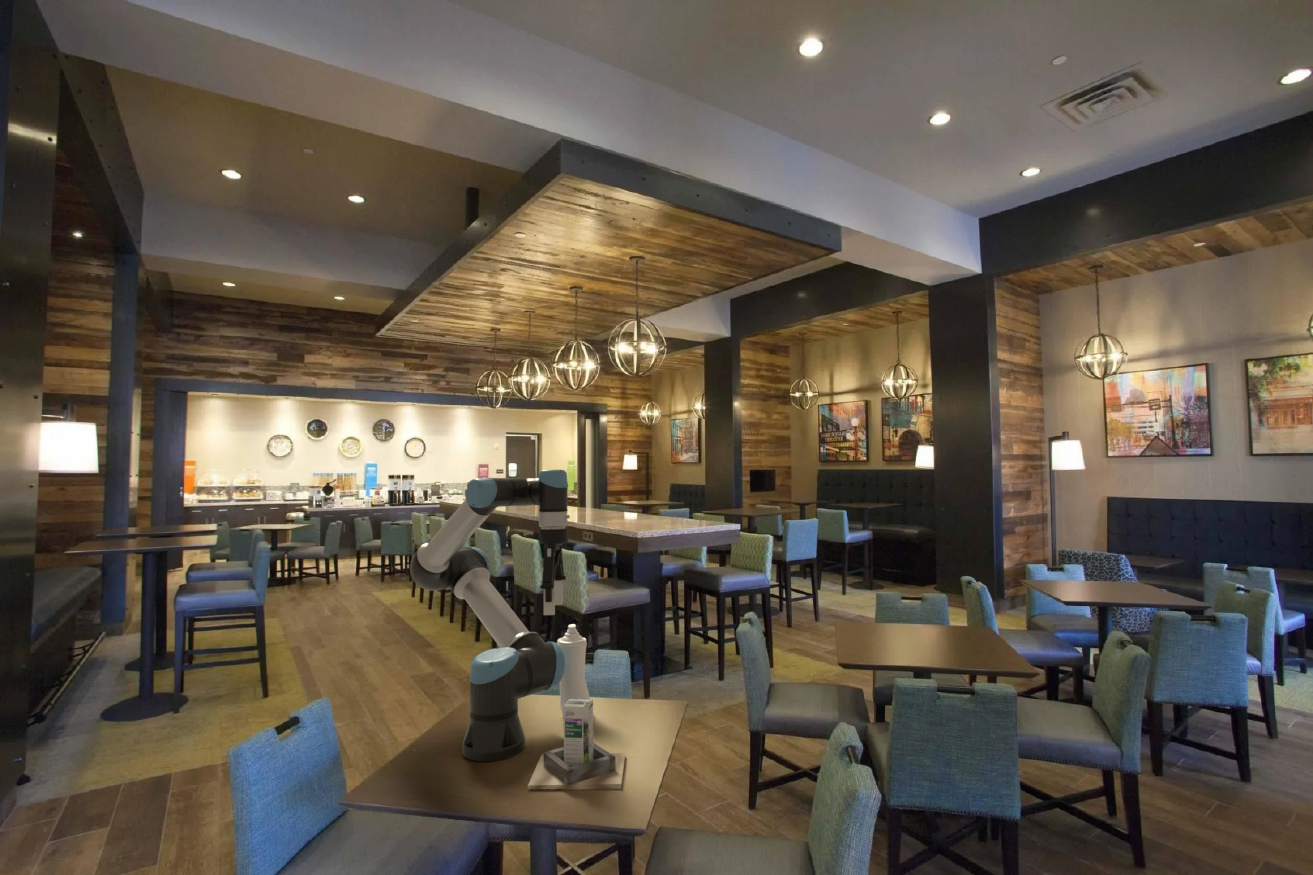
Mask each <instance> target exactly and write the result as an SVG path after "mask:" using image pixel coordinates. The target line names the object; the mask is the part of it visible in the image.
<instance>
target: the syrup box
mask: <svg viewBox="0 0 1313 875" xmlns="http://www.w3.org/2000/svg"><path fill="white" fill-rule="evenodd" d="M593 714H594V699H592V698H590V700H583V699H570V700H568V701H567V702H566V704H565V705H564V719H563V747H564V762H565V763H566V764H568V765H569V766H570V767H571V766H574V765H578V764H581V763H585V762H588V761H592V760H593V742H594V718H593Z"/></svg>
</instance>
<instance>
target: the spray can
mask: <svg viewBox="0 0 1313 875" xmlns="http://www.w3.org/2000/svg"><path fill="white" fill-rule="evenodd" d="M576 628H577V626H576V624H575V623H572V624H568V626H567V630H566V632H565V633H564V636H562V637H560V638H558V639H557V641H556V643H557V644H558V645H559V646H560V647H561V649H562V651H563V654H564V658H565V671H564V675H563V677H562V679H561V681H560V682H559V701H560V703H559V704H560V710H561V714H562V719H563V720H564V705H565V704H566V702H567V701H568V700H570V699H583V700H590V699H591V698H590V693H589V689H588V684H587V681H586V676H585V675H586V674H585V673H586V671H585V670H586V652H587V645H588V642H587V638H585V637H582V636H583V635H580V633H579V632H578V630H577V629H576ZM594 718H595V714H594V713H593V719H594Z"/></svg>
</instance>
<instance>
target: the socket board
mask: <svg viewBox="0 0 1313 875" xmlns="http://www.w3.org/2000/svg"><path fill="white" fill-rule="evenodd" d="M625 762H626V753H625V752H616V753H615V752H612V753H611V752H609V751H607V750H606V749H604V748H603V747H602V746H600V745H598V744H596V743H595V742H594V741H593V760H592V761H588V762H585V763H581V764H578V765H574V766H571V767H570V766H569V765H568V764H566V763H565V762H564V746H563V747H559V748H554V749H552V750H548V751H545V752H543V753H542V754H541V755H540V758H539V759H538V761H537V764H536V767H535V768H534V771H533V773H532V775H531V778H530V780H529V781H528V784H527V790H528V789H529V790H528V791H531V790H530V789H534V790H533V791H536V790H535V789H562V790H561V791H566V790H567V791H571V790H574V791H575V790H620V789H621V790H622V785H623V780H624V778H623V777H624V770H625Z"/></svg>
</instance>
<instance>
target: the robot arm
mask: <svg viewBox="0 0 1313 875" xmlns="http://www.w3.org/2000/svg"><path fill="white" fill-rule="evenodd" d="M567 473H568V472H566V470H564V469H541V470H540V471H539V473H538V477H486V476H485V477H479V478H473V479H471V480H469V481H468V483H467V484H466V488H465V490H464V497H465V500H463V502H462V503H461V504H460V505H459V507H458V508H457V509H456V510H455V511H454V512H453V513H452V515H451V516H450V517H449V518H448V519H447V520H446V521H445V523H444V524H443V525H442V527H441V528H440V529H438V531H437V532H436V533H435V534H434V535H433V537H431V539H430V541H428V542H425V543H423V544H422V545H421V546H419V548H418V549H417V551H415V552H414V554H413V556H412V558H411V561H410V565H409V571H410V576H411V578H412V580H413V581H414V583H415V584H416V585H417V586H419V588H422V589H424V590H426V591H430V592H431V591H432V592H435V591H442V590H451V592H452V593H453V594H454V595H455V597H456V598H458V599H460V600H465V601H466V603H467V604H468V605H469V607H470V608H471V610H472V611H473V613H474V614H475V616H476V617H477V618H478V619H479V621H480V622H481V623H482V625H483V626H484V628H485V629H486V630H487V632H488V634H489V635H490V636H491V637H492V638H493V640H494V641H495V643H496V644H497V646H498V648H491V649H487V650H485V651H482V652H480V653H479V654H477V655H476V656H474V658H473V659H472V661H471V663H470V670H469V671H470V672H469V678H468V679H469V681H470V682H469V721H468V724H467V727H466V731H465V734H464V737H463V741H462V746H461V747H462V750H461V754H462V756H463V757H464V758H466V759H468V760H471V761H476V762H495V761H500V760H505V759H509V758H512V757H514V756H517V755H519V753H521V752H522V751H524V749H525V748H526V737H525V731H524V729H523V726H522V723H521V720H520V716H519V699H522V698H525V697H527V696H531V695H534V694H537V693H540V692H543V691H547V690H549V689H550V688H551V689H552V688H553V687H555V686H557V685H558V684H560V681H561V679H562V677H563V675H564V671H565V658H564V654H563V651H562V649H561V647H560V646H559V645H558V644H557V642H555V641H547V642H545V641H544V639H543V638H542V637H541V636H540V634H539V633H538V632H536V631H530V630H528V628H527V626H525V624H524V623H523V622H522V620H521V619H520V618H519V617H518V616H517V614H516V613H515V611H514V610H513V609H512V608H511V606H510V605H509V603H508V602H507V601H506V599H504V597H503V596H502V594H500V592H499V591H498V590H497V589H496V587H495V586H494V585H493V583H492V582H491V581H490V580H491V579H490V578H491V564H490V563H489V562H490V559H489V557H488V556H487V554H486V553H485V551H483V550H482V549H481V548H478V547H474V546H471V547H470V546H463V545H465V543H466V542H467V541H468V540H469V539H470V538H471V536H473V535H474V533H475V532H476V531H477V530H478V529H479V528H480V527H481V525H483V523H484V522H485V521H486V520H487V519H488V518H489V516H490V515H491V514H492V513H493V512H494V511H495V510H496V509H497V508H498V507H499V508H500V507H501V508H502V507H517V506H519V507H520V506H523V507H525V506H538V527H539V528H540V529H539V531H538V543H540V544H543V545H545V544H546V545H547V547H546V548H544V550H543V552H544V553H543V554H544V555H543V556H544V557H543V567H542V568H543V569H542V582H541V585H540V588H539V589H541V590H543V616H555V614H556V606H563V605H564V581H566V580H567V579H566V578H567V577H566V575H565V572H564V557H563V545H562V544H566V543H567V542H568V541H569V538H568V537H569V530H568V528H566V527H568V519H570V518H571V517H570V514H568V498H569V497H568V495H569V494H568V492H569V491H568V490H569V489H568V488H569V484H568V474H567Z"/></svg>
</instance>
